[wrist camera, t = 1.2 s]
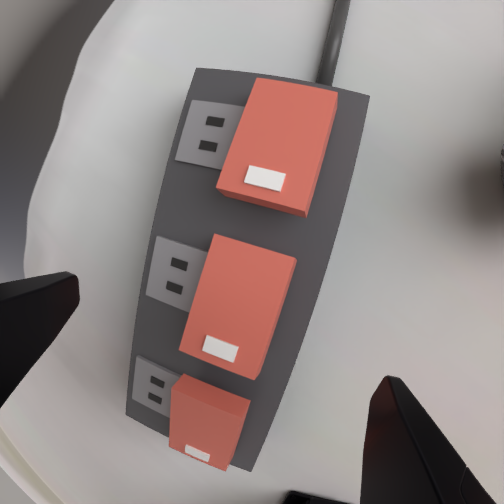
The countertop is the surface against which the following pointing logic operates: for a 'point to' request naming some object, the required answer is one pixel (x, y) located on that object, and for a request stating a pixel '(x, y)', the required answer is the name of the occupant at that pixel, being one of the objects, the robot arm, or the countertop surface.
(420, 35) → the countertop surface
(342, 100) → the power strip
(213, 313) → the plate
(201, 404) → the red rectangular block
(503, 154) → the toy
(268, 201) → the rocker
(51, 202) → the countertop surface
